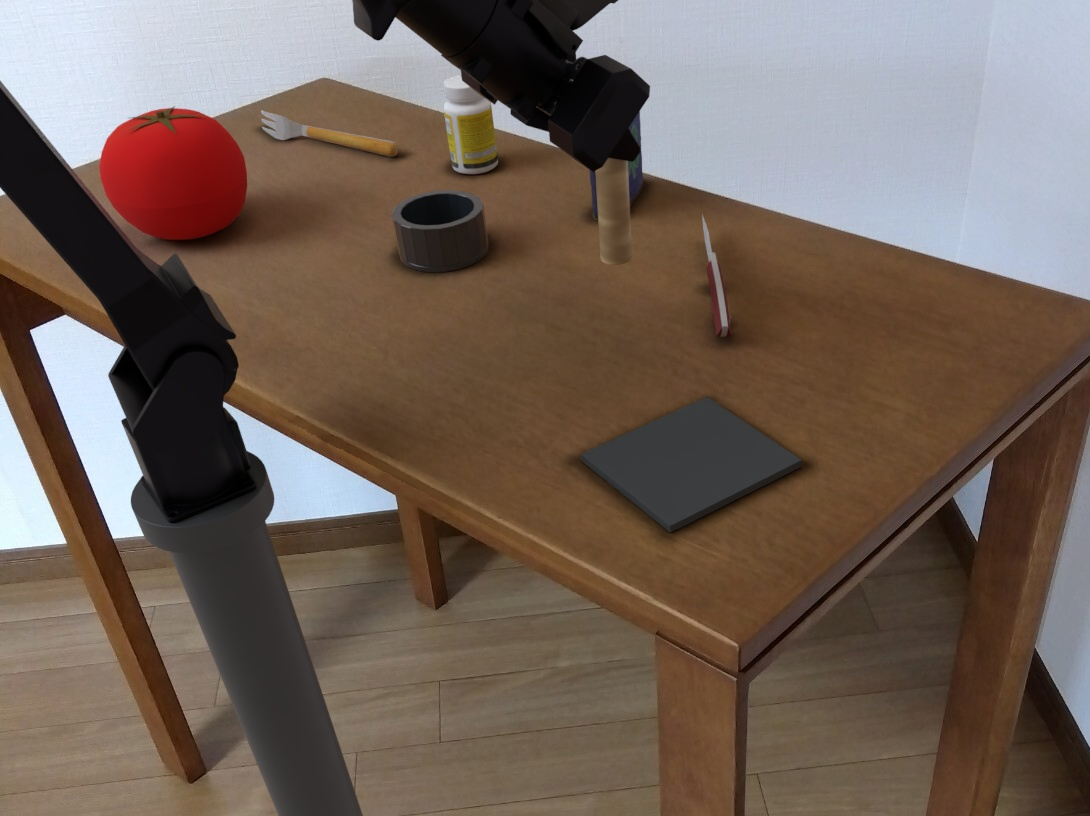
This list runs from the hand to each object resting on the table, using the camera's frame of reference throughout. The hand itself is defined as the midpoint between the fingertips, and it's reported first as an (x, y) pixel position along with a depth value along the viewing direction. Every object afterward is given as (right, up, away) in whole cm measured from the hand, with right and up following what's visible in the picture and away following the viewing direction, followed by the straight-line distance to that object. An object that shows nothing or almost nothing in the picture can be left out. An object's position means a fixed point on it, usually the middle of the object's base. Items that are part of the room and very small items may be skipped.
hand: (627, 149), depth 83 cm
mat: (+4, -24, -6) cm, 25 cm away
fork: (-32, +17, +41) cm, 55 cm away
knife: (+7, -7, +12) cm, 16 cm away
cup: (-16, -1, +20) cm, 26 cm away
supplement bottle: (-15, +12, +34) cm, 39 cm away
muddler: (-1, -6, +5) cm, 8 cm away
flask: (0, +5, +26) cm, 26 cm away
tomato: (-41, +3, +27) cm, 49 cm away
